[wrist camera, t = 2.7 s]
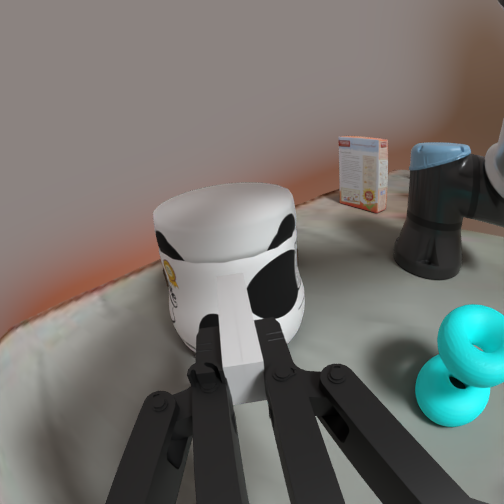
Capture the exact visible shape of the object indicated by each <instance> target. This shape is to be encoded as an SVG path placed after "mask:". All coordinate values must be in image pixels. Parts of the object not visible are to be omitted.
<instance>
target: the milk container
mask: <svg viewBox="0 0 504 504" xmlns="http://www.w3.org/2000/svg"><path fill="white" fill-rule="evenodd" d="M153 219H154V227H155V233H156V237H157V242H158V246H159V254H160V257H161V261H162V264H163V267H164V270H165V273H166V277H167V280H168V285H169V310H170V315H171V319H172V322H173V324H174V327H175V329H176V331H177V332H178V334H179V336H180V337H181V339H182V340H183V341H184V343H185V344H186V345H187V346H188V347H189V348H190V349H191V350H192V351H194V352H195V353H196V336H197V334H198V332H199V330H200V329H201V328H208V327H216V326H219V314H218V299H217V282H216V276H223V275H230V274H237V273H243V275H244V280H245V284H246V289H247V293H248V297H249V302H250V306H251V310H252V315H253V319H254V320H259V319H265V318H270V317H274V318H275V319H276V320H277V321H278V322H279V323H280V326H281V329H282V332H283V334H284V338H285V340H286V343H287V344H288V342H289V341H290V340H291V339H292V338H293V337H294V335H295V334H296V333H297V331H298V329H299V327H300V324H301V321H302V318H303V314H304V307H305V292H304V286H303V283H302V279H301V276H300V273H299V270H298V266H297V231H296V211H295V205H294V200H293V196H292V194H291V193H290V191H289V190H288V189H286V188H284V187H281V186H278V185H274V184H267V183H250V182H249V183H247V182H245V183H244V182H243V183H230V184H222V185H215V186H209V187H204V188H200V189H196V190H192V191H189V192H186V193H183V194H180V195H178V196H175V197H172V198H170V199H169V200H167V201H165V202H163V203H162V204H160V205H159V206H158V207H157V208H156V209H155V211H154V212H153Z"/></svg>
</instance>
